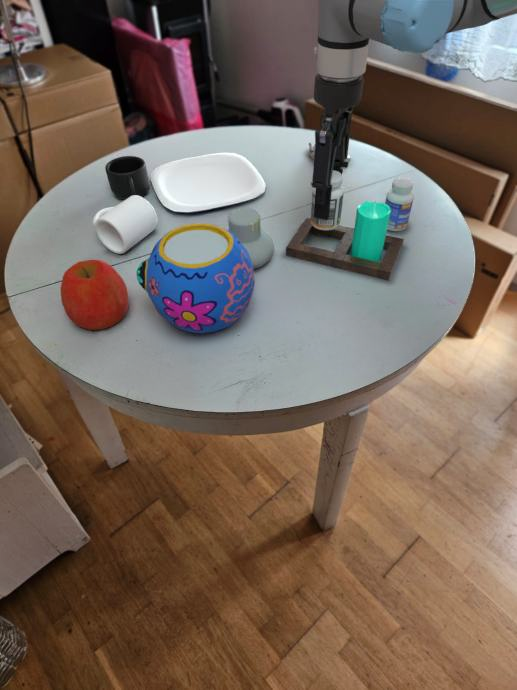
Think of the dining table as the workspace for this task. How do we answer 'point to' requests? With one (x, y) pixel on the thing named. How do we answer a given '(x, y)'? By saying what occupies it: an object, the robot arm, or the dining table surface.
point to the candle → (370, 230)
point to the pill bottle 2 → (399, 203)
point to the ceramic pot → (198, 277)
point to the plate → (206, 182)
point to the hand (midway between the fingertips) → (326, 208)
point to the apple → (94, 295)
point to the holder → (343, 251)
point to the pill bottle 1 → (334, 205)
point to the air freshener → (251, 235)
